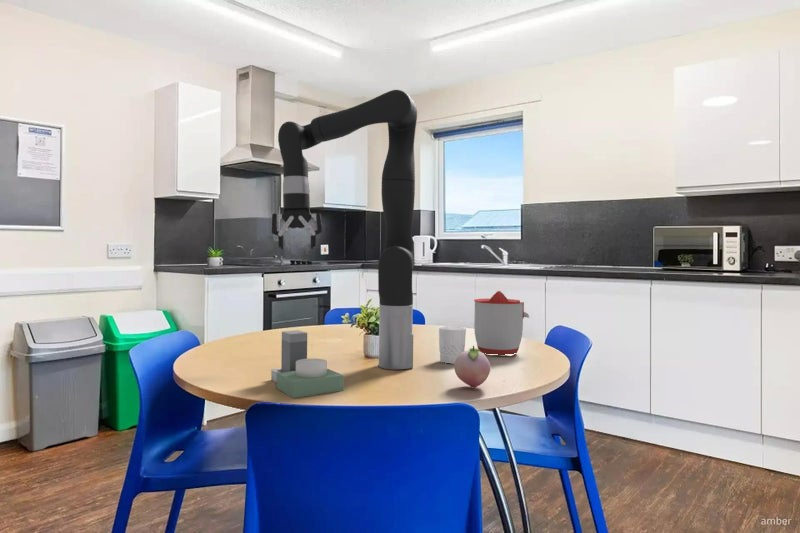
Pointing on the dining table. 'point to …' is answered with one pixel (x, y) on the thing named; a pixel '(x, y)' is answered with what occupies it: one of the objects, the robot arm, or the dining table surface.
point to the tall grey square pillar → (293, 349)
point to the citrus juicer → (499, 324)
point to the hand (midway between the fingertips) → (297, 249)
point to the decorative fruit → (472, 367)
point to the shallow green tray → (308, 379)
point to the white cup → (451, 342)
